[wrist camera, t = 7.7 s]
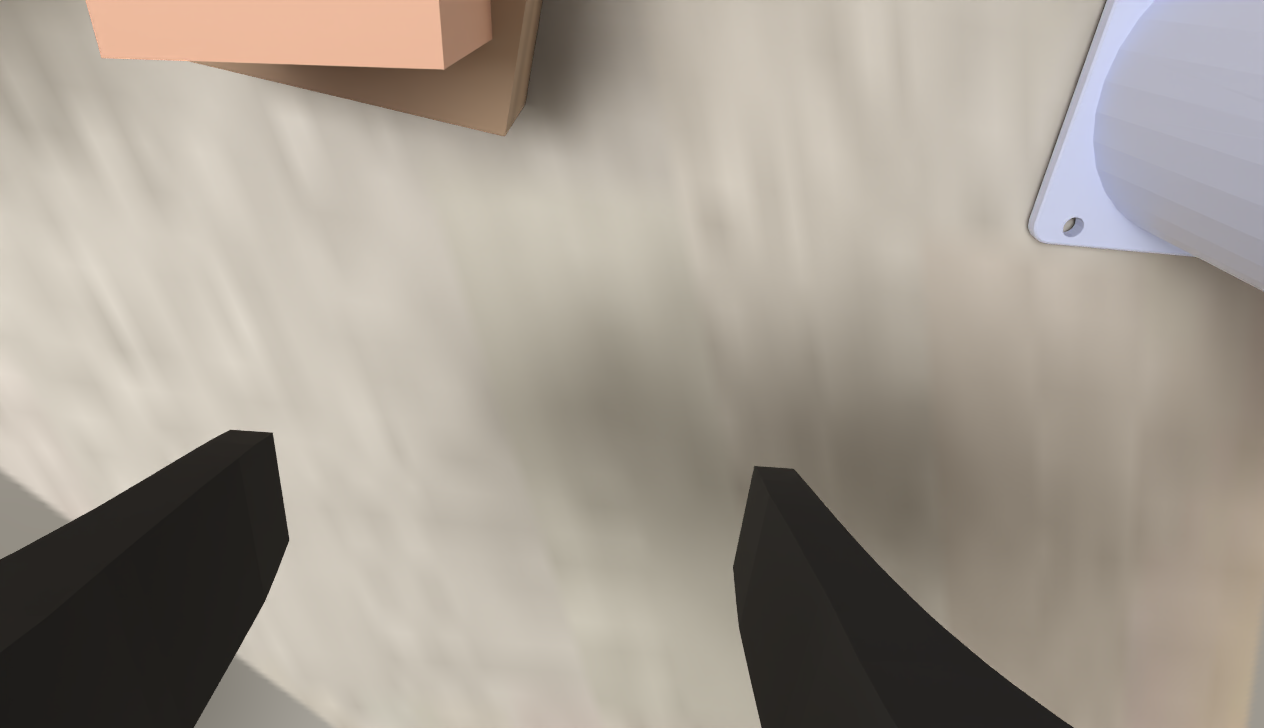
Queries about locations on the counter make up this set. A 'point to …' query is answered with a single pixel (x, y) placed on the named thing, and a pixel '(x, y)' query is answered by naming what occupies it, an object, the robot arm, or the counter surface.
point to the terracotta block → (294, 31)
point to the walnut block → (435, 76)
